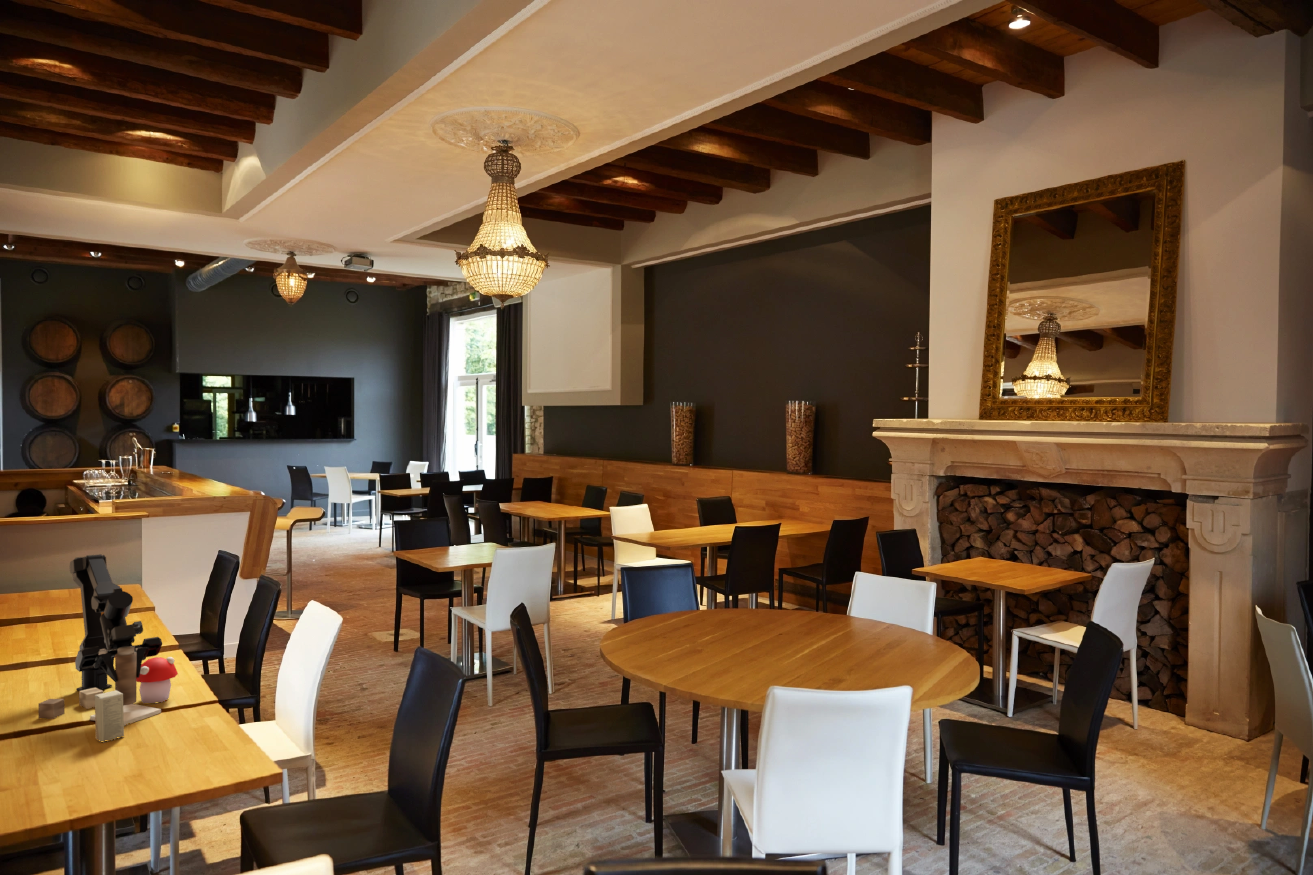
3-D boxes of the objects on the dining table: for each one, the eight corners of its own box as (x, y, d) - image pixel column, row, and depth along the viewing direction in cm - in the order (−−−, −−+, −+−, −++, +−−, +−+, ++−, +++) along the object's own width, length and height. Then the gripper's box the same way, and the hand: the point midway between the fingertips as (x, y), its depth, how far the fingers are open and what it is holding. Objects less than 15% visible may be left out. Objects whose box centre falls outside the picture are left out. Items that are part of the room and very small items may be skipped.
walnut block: (38, 718, 225) (38, 703, 225) (49, 713, 229) (49, 698, 229) (53, 718, 225) (53, 703, 224) (64, 713, 229) (64, 698, 228)
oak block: (79, 705, 235) (79, 690, 235) (95, 701, 239) (95, 687, 239) (86, 709, 232) (86, 694, 232) (103, 705, 236) (103, 690, 236)
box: (118, 733, 215) (118, 689, 214) (124, 737, 212) (124, 692, 212) (94, 739, 211) (94, 694, 210) (100, 743, 208) (100, 698, 208)
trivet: (90, 719, 224) (90, 715, 224) (129, 706, 234) (129, 703, 234) (122, 726, 220) (122, 722, 220) (160, 712, 230) (160, 709, 230)
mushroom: (127, 707, 234) (127, 663, 234) (139, 695, 244) (140, 653, 244) (170, 704, 237) (170, 661, 236) (181, 692, 247) (181, 651, 247)
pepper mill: (110, 705, 225) (111, 650, 224) (123, 699, 229) (123, 645, 229) (128, 705, 224) (128, 650, 224) (140, 699, 229) (140, 645, 229)
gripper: (80, 618, 222) (91, 669, 215) (160, 607, 236) (173, 655, 229) (73, 642, 228) (83, 693, 221) (151, 630, 242) (163, 677, 234)
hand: (127, 678), depth 226 cm, fingers closed on pepper mill, 5 cm apart
